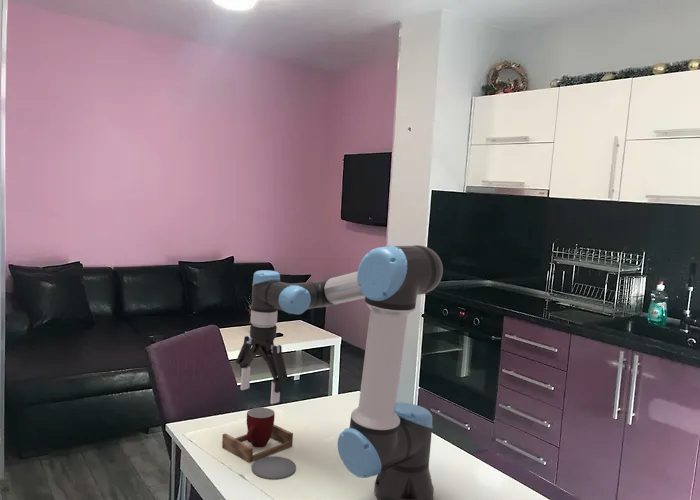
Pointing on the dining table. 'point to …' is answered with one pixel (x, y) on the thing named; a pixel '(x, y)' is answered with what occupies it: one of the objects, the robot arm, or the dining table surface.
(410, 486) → the robot arm
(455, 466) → the dining table surface
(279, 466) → the coaster
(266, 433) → the mug
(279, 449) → the wooden tray frame
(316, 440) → the dining table surface
